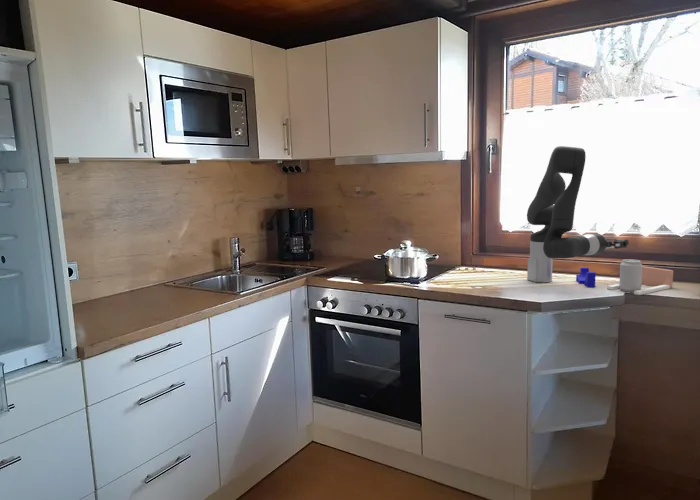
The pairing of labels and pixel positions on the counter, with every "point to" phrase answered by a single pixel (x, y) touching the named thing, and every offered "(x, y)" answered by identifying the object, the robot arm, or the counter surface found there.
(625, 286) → the can
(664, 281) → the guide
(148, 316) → the counter surface
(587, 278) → the cable clip
